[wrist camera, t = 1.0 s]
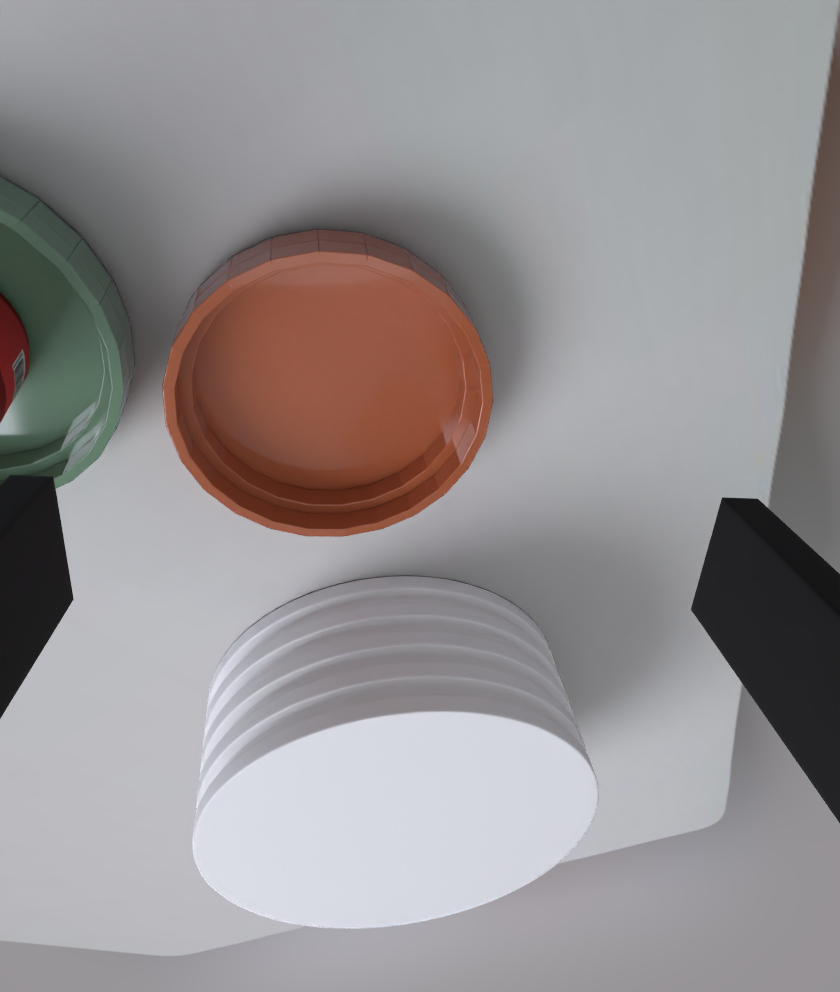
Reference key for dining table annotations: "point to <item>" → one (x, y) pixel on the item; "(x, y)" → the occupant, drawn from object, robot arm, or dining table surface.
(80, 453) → the sage bowl
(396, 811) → the plate stack
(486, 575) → the dining table surface
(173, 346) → the terracotta bowl
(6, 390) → the canned food
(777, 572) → the robot arm
